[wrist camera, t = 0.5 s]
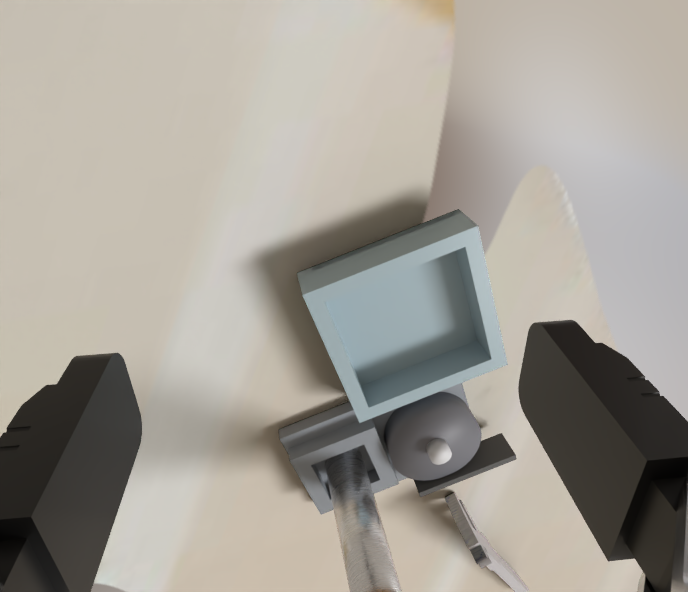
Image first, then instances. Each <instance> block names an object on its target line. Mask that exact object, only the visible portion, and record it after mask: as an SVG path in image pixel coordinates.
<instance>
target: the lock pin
mask: <svg viewBox="0 0 688 592" xmlns="http://www.w3.org/2000/svg"><path fill="white" fill-rule="evenodd" d="M325 469H326V474H327V479H328V484H329V489H330V494H331V499H332V504H333V509H334V514H335V519H336V524H337V529H338V534H339V539H340V544H341V549H342V554H343V559H344V564H345V569H346V574H347V579H348V584H349V589H350V592H402V590H401V587H400V583H399V580H398V576H397V573H396V570H395V566H394V563H393V559H392V556H391V552H390V549H389V545H388V542H387V539H386V535H385V532H384V528H383V525H382V521H381V518H380V515H379V511H378V508H377V504H376V501H375V497H374V494H373V490H372V487H371V484H370V480H369V477H368V473H367V470H366V466H365V463H364V459H363V456H362V453H361V452H360V451H359V450H358V449H356V448H354V449H351V450H349V451H346V452H344V453H341V454H339V455H336V456H334V457H331V458H329V459H326V460H325Z"/></svg>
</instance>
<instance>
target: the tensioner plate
mask: <svg viewBox="0 0 688 592" xmlns="http://www.w3.org/2000/svg"><path fill="white" fill-rule="evenodd" d="M279 439H280V441H281V443H282V444H283V446H284V448H285V449H286V451H287V453H288V455H289V459H290V462H291V464H292V466H293V467H294V469H295V471H296V473H297V474H298V476H299V478H300V480H301V481H302V483H303V485H304V486H305V488H306V490H307V492H308V493H309V495H310V497H311V498H312V500H313V502H314V504H315V505H316V507H317V509H318V510H319V512H320V514H324V513H326V512H329V511H331V510H334V509H333V504H332V499H331V494H330V489H329V484H328V479H327V474H326V469H325V460H326V459H329V458H331V457H334V456H336V455H339V454H341V453H344V452H346V451H349V450H351V449H354V448H356V449H358V450H359V451H360V452H361V453H362V456H363V459H364V463H365V466H366V470H367V473H368V477H369V480H370V484H371V487H372V490H373V494H374V493H377V492H379V491H382V490H385V489H387V488H390V487H392V486H395V485H397V484H399V483H398V481H401V480H403V479H406V478H410V479H414V482H415V484H416V487H417V489H418V492H419V495H420V497H422V496H425V495H427V494H430V493H432V492H435V491H437V490H440V489H442V488H445V487H447V486H450V485H452V484H455V483H457V482H460V481H463V480H465V479H468V478H470V477H473V476H475V475H478V474H480V473H483V472H485V471H488V470H490V469H493V468H495V467H498V466H501V465H503V464H506V463H508V462H511V461H513V460H516V455H515V453H514V452H513V450H512V449H511V447H510V446H509V444H508V442H507V441H506V439H505V438H504V436H503V435H502V433H501V434H498V435H496V436H493V437H490V438H488V439H485V440H483V441H481V429H480V426H479V424H478V423H477V421H476V419H475V418H474V416H473V414H472V413H471V411H470V409H469V406H468V403H467V399H466V396H465V392H464V389H463V385H462V383H460V384H457V385H455V386H452V387H450V388H447V389H445V390H442V391H440V392H437V393H435V394H432V395H429V396H427V397H424V398H422V399H419V400H417V401H414V402H412V403H409V404H407V405H404V406H402V407H399V408H397V409H394V410H392V411H389V412H386V413H384V414H381V415H379V416H376V417H374V418H371V419H369V420H366V421H364V422H361V423H359V421H358V418H357V416H356V414H355V412H354V409H353V407H352V405H351V403H350V402H347V403H345V404H342V405H340V406H337V407H335V408H332V409H330V410H327V411H324V412H322V413H319V414H317V415H314V416H312V417H309V418H307V419H304V420H302V421H299V422H297V423H294V424H292V425H289V426H286V427H284V428H281V429H279Z"/></svg>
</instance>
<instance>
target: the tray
mask: <svg viewBox="0 0 688 592" xmlns="http://www.w3.org/2000/svg"><path fill="white" fill-rule="evenodd" d="M297 275H298V279H299V283H300V288H301V292H302V296H303V298H304V300H305V302H306V305H307V307H308V309H309V311H310V313H311V316H312V318H313V320H314V322H315V325H316V327H317V329H318V331H319V334H320V336H321V338H322V340H323V342H324V345H325V347H326V349H327V351H328V354H329V356H330V358H331V360H332V363H333V365H334V367H335V369H336V371H337V374H338V376H339V378H340V380H341V383H342V385H343V387H344V389H345V392H346V394H347V396H348V398H349V401H350V403H351V405H352V407H353V409H354V412H355V414H356V416H357V418H358V421H359V423H361V422H364V421H366V420H369V419H371V418H374V417H376V416H379V415H381V414H384V413H386V412H389V411H392V410H394V409H397V408H399V407H402V406H404V405H407V404H409V403H412V402H414V401H417V400H419V399H422V398H424V397H427V396H429V395H432V394H435V393H437V392H440V391H442V390H445V389H447V388H450V387H452V386H455V385H457V384H460V383H462V382H465V381H467V380H470V379H473V378H475V377H478V376H480V375H483V374H485V373H488V372H490V371H493V370H495V369H498V368H500V367H503V366H505V365H508V364H507V359H506V354H505V350H504V345H503V340H502V336H501V331H500V326H499V322H498V317H497V312H496V307H495V303H494V298H493V293H492V289H491V284H490V279H489V275H488V270H487V265H486V261H485V256H484V251H483V247H482V242H481V237H480V233H479V228H478V225H476V224H475V223H474V222H473V221H472V220H471V219H470V218H468V217H467V216H466V215H465V214H464V213H463V212H461V211H460V210H459V209H458V210H455V211H453V212H450V213H447V214H445V215H442V216H440V217H437V218H435V219H433V220H430V221H427V222H425V223H422V224H420V225H417V226H415V227H412V228H410V229H407V230H405V231H402V232H399V233H397V234H394V235H392V236H389V237H387V238H384V239H382V240H379V241H377V242H374V243H372V244H369V245H367V246H364V247H362V248H359V249H357V250H354V251H351V252H349V253H346V254H344V255H341V256H339V257H336V258H334V259H331V260H329V261H326V262H324V263H321V264H319V265H316V266H314V267H311V268H309V269H306V270H303V271H301V272H298V273H297Z"/></svg>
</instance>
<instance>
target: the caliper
mask: <svg viewBox="0 0 688 592" xmlns="http://www.w3.org/2000/svg"><path fill="white" fill-rule="evenodd" d="M445 500H446V502H447V504H448V507H449V509H450V511H451V513H452V516H453V518H454V520H455V522H456V525H457V527H458V529H459V531H460V533H461V535H462V537H463V539H464V541H465V543H466V545H467V547H468V549H469V550H470V551H471V553H472V555H473V557H474V559H475V561H476V563H477V564H479V565H480V567H481V568H484V567H485V566H487V567H488V568H489V569H490V570H491V571H494V572H495V573H497V574H498V575H499V576H500V577H501V578H502V579H503V580H504V581H505V582H506V583H507V584H508V585H509V586H510V587H511V588H512V589H513V590H514V591H515V592H529V589H528V587H527V586H526V585H525V584H524V582H523V581H522V579H521V578H520V577H519V576H518V575H517V573H516V572H515V571H514V570H513V569H512V568H511V567H510V566H509V565H508V564H507V563H506V562H505V561H504V560H503V559H502V558H501V556H500V555H499V554H498V553H497V552H496V551H495V550H494V549H493V548H492V547H491V545H490V543H489V542H488V540H487V538H486V537H485V536H484V535H483V534H482V533H480V532H479V531H478V529H477V527H476V526H475V524H474V522H473V520H472V518H471V517H470V515H469V513H468V511H467V509H466V507H465V506H464V504H463V502H462V501H461V500H460V501H459V499H458V497H457V495H456V493H455V492H454V493H452V494H450V495H449V496H447V497H445Z"/></svg>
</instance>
